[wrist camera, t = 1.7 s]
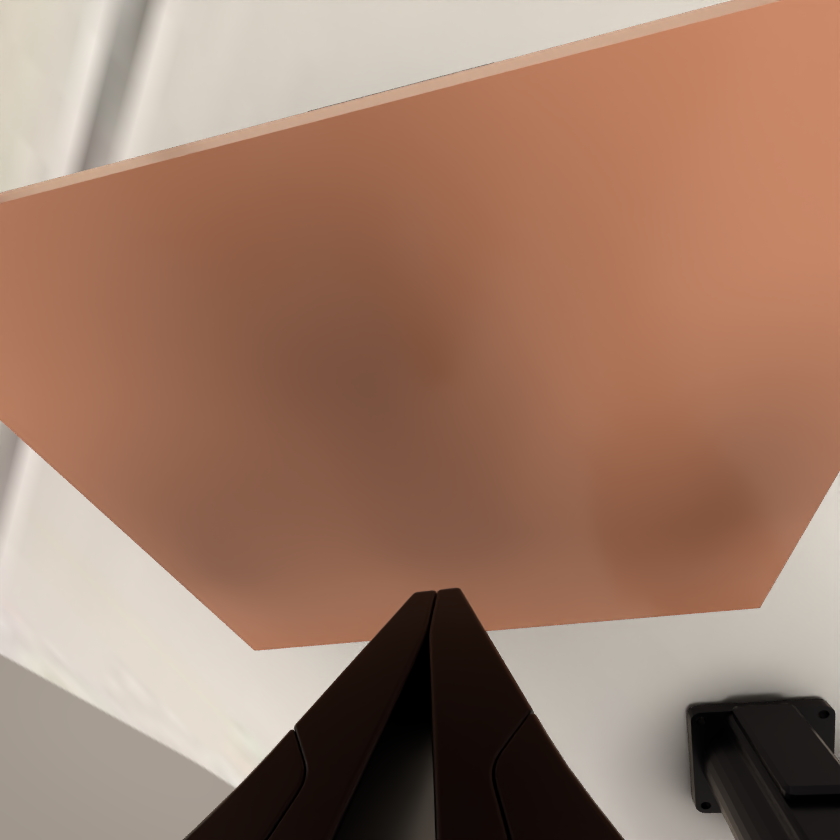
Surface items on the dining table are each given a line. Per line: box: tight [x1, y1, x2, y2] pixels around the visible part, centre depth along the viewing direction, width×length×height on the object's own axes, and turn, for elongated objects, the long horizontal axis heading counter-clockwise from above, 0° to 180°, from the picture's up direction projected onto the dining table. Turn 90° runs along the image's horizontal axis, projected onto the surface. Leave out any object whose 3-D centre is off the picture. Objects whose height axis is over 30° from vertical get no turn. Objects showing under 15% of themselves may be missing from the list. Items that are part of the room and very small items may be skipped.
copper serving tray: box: [0, 0, 840, 650], centre depth 12 cm, size 16×18×1 cm
